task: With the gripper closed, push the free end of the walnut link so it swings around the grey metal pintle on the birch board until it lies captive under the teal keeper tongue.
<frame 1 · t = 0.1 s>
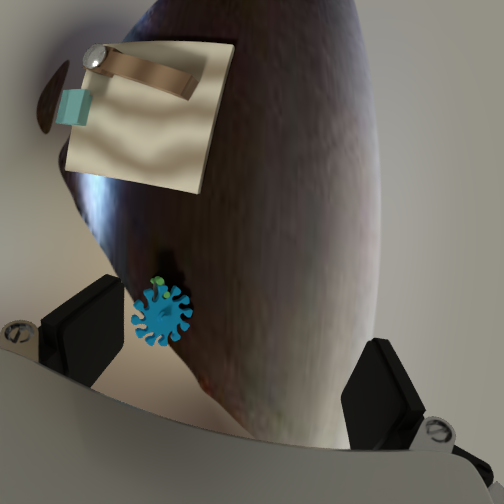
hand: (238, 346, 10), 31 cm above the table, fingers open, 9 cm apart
link: (136, 70, 32), point 4 cm above the table, hinge at 75.0°
gear: (170, 301, 45), on the table
board: (140, 108, 37), on the table
keeper: (90, 112, 38), resting on board
pintle: (115, 66, 35), resting on board
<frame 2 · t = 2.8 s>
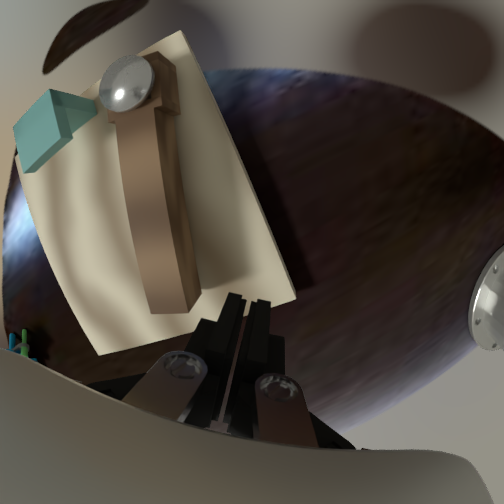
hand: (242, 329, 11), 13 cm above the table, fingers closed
link: (153, 183, 19), point 4 cm above the table, hinge at 75.0°
gear: (28, 350, 32), on the table
board: (126, 209, 24), on the table
keeper: (85, 123, 22), resting on board
pintle: (163, 101, 21), resting on board
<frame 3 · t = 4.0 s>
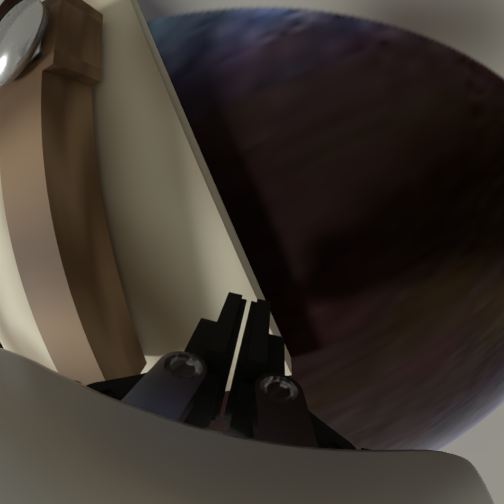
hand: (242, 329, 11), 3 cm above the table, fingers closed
link: (52, 197, 10), point 4 cm above the table, hinge at 75.0°
board: (45, 232, 14), on the table
pintle: (89, 71, 12), resting on board
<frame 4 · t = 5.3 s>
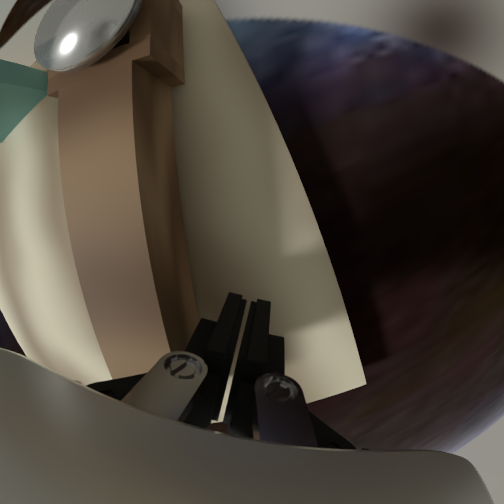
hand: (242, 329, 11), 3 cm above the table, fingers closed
link: (127, 214, 10), point 4 cm above the table, hinge at 72.5°, touching gripper
board: (96, 246, 14), on the table
keeper: (37, 110, 12), resting on board
pintle: (154, 66, 11), resting on board
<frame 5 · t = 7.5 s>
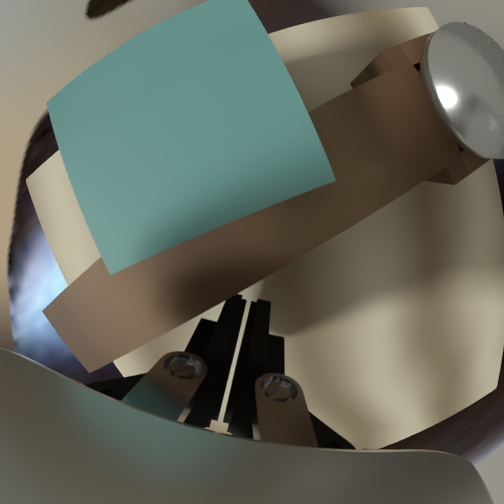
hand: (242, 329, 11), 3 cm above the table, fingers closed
link: (271, 198, 9), point 4 cm above the table, hinge at 10.0°, touching gripper
board: (313, 305, 14), on the table
keeper: (212, 120, 12), resting on board
pintle: (398, 116, 11), resting on board
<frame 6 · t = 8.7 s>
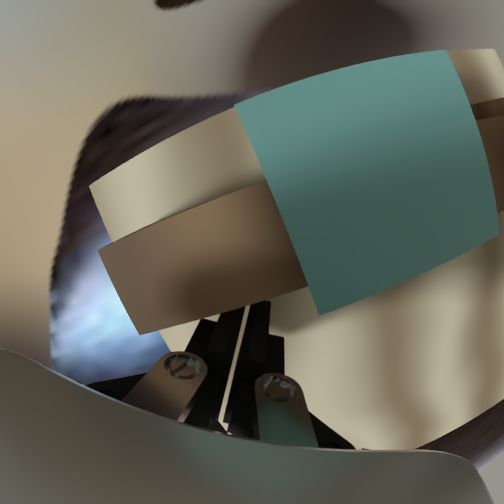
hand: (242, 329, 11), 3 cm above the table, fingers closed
link: (389, 188, 8), point 4 cm above the table, hinge at -2.2°, touching gripper, keeper
board: (393, 317, 14), on the table
keeper: (316, 139, 12), resting on board
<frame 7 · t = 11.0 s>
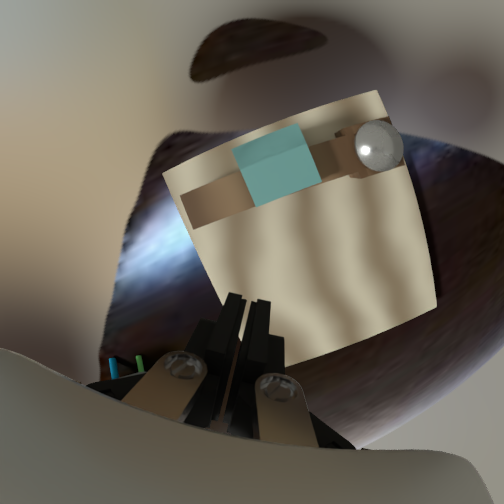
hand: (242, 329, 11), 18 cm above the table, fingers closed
link: (292, 172, 23), point 4 cm above the table, hinge at -2.2°, touching keeper
gear: (131, 374, 36), on the table
board: (316, 241, 28), on the table
keeper: (270, 152, 26), resting on board
pintle: (356, 150, 26), resting on board
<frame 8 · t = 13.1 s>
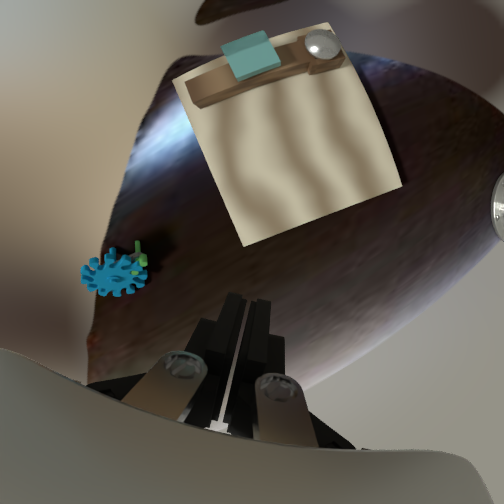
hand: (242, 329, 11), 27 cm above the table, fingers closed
link: (264, 67, 29), point 4 cm above the table, hinge at -2.2°, touching keeper
gear: (128, 266, 41), on the table
board: (288, 126, 34), on the table
keeper: (251, 65, 32), resting on board
pintle: (316, 62, 31), resting on board
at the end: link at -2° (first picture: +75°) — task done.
